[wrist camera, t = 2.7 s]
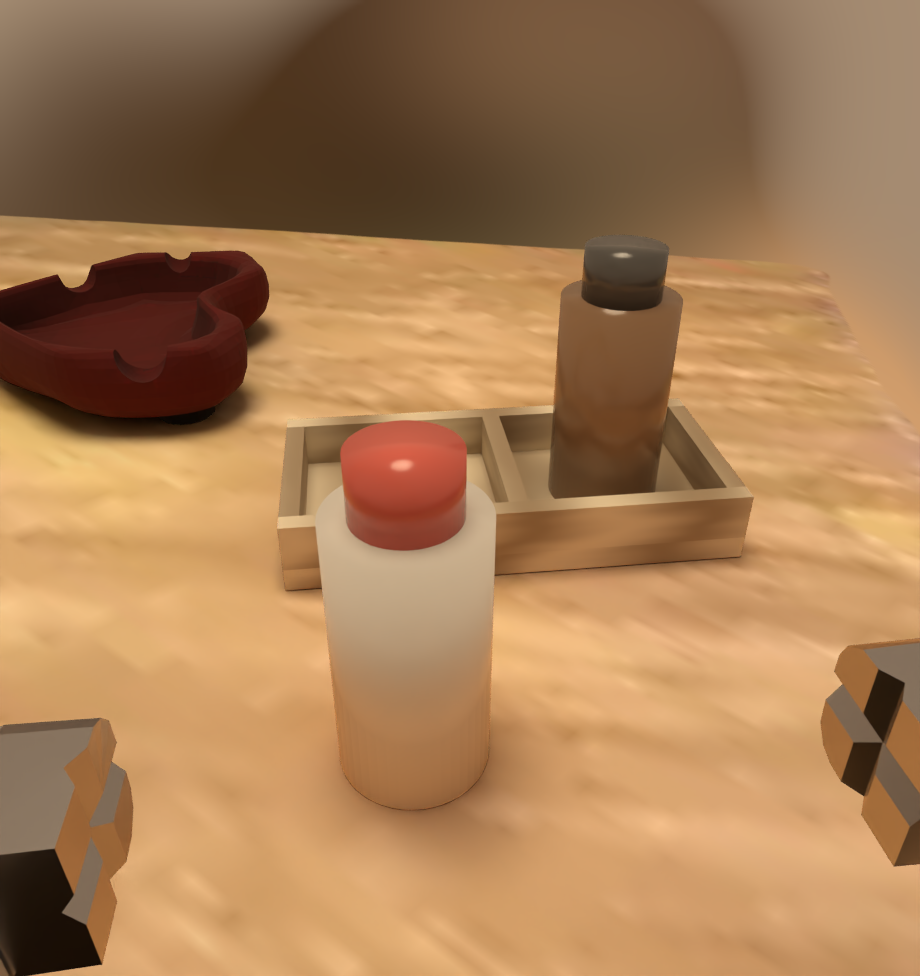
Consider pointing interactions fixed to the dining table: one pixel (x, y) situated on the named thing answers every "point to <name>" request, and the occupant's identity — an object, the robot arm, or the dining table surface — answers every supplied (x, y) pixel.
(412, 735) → the white shaker
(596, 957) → the dining table surface
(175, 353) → the ashtray
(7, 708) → the dining table surface
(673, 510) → the caddy
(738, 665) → the dining table surface
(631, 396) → the brown soy bottle
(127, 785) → the robot arm
